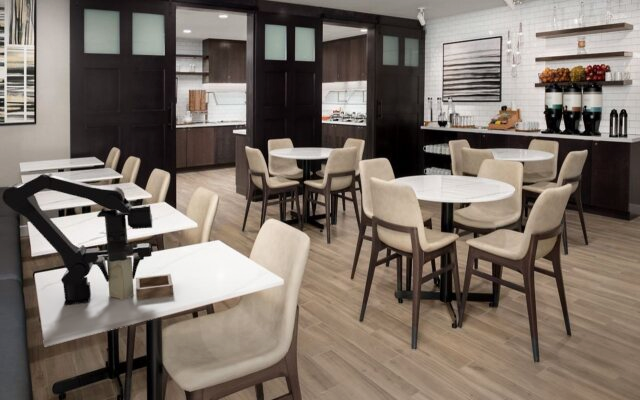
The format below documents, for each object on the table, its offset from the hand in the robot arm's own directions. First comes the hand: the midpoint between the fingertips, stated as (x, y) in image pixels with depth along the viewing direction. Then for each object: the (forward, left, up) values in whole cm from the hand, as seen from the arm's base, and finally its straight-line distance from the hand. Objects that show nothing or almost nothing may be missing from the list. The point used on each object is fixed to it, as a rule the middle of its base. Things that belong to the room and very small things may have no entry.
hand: (120, 279), depth 159 cm
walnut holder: (+10, 0, -5) cm, 11 cm away
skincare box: (0, 0, -5) cm, 5 cm away
